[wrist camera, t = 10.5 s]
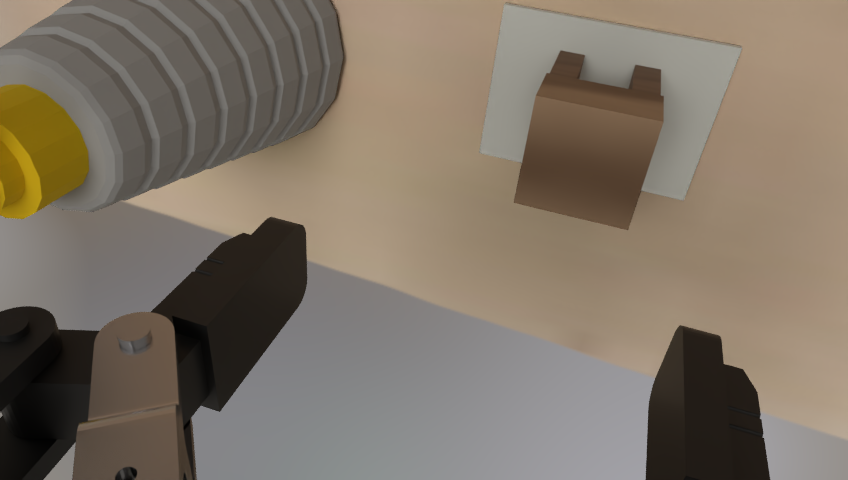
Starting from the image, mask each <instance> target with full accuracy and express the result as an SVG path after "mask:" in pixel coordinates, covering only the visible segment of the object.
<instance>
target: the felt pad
mask: <svg viewBox="0 0 848 480" xmlns="http://www.w3.org/2000/svg"><path fill="white" fill-rule="evenodd" d="M560 50H561V51H567V52H572V53H577V54H582V55H585V57H584V61H583V66H582V70H581V74H580V78H579V79H581V80H586V81H591V82H596V83H601V84H606V85H611V86H616V87H621V88H626V89H628V88H629V85H630V81H631V78H632V74H633V71H634V67H635V65H640V66H645V67H651V68H656V69H661V96H664V122H663V125H662V128H661V131H660V134H659V138H658V141H657V144H656V147H655V150H654V153H653V156H652V159H651V162H650V165H649V168H648V171H647V174H646V177H645V180H644V183H643V186H642V189H641V191H644V192H648V193H653V194H657V195H661V196H665V197H670V198H674V199H678V200H683V201H684V198H685V196H686V193H687V190H688V188H689V185H690V183H691V180H692V177H693V175H694V172H695V170H696V167H697V164H698V162H699V159H700V157H701V154H702V151H703V149H704V146H705V144H706V141H707V138H708V136H709V133H710V131H711V128H712V125H713V123H714V120H715V118H716V115H717V112H718V110H719V107H720V105H721V102H722V99H723V97H724V94H725V92H726V89H727V86H728V84H729V81H730V79H731V76H732V73H733V71H734V68H735V66H736V63H737V60H738V58H739V55H740V53H741V50H742V47H741V46H738V45H733V44H727V43H722V42H717V41H711V40H706V39H700V38H695V37H690V36H684V35H679V34H673V33H668V32H662V31H657V30H652V29H646V28H641V27H635V26H630V25H624V24H619V23H614V22H608V21H603V20H597V19H592V18H587V17H581V16H576V15H570V14H565V13H559V12H554V11H549V10H543V9H538V8H532V7H527V6H522V5H516V4H511V3H505V4H504V8H503V14H502V20H501V26H500V32H499V38H498V44H497V50H496V56H495V62H494V68H493V74H492V80H491V86H490V92H489V98H488V104H487V110H486V115H485V121H484V127H483V133H482V139H481V145H480V151H479V153H481V154H485V155H490V156H494V157H498V158H503V159H507V160H511V161H515V162H520V163H522V160H523V155H524V150H525V145H526V141H527V136H528V131H529V126H530V121H531V116H532V111H533V106H534V101H535V97H536V94H537V92H538V90H539V88H540V86H541V84H542V82H543V80H544V78H545V75H546V73H550V71H551V69H552V67H553V65H554V63H555V61H556V59H557V57H558V55H559V52H560Z"/></svg>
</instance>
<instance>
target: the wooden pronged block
mask: <svg viewBox="0 0 848 480" xmlns="http://www.w3.org/2000/svg"><path fill="white" fill-rule="evenodd" d="M584 57H585V55H582V54H577V53H572V52H567V51H561V50H560V52H559V55H558V57H557V59H556V61H555V63H554V65H553V67H552V69H551V71H550V73H546V75H545V78H544V80H543V82H542V84H541V86H540V88H539V90H538V92H537V94H536V97H535V101H534V106H533V111H532V116H531V121H530V126H529V131H528V136H527V141H526V145H525V150H524V155H523V160H522V165H521V170H520V175H519V180H518V184H517V189H516V194H515V199H514V203H518V204H522V205H526V206H530V207H534V208H538V209H542V210H547V211H551V212H555V213H559V214H563V215H567V216H572V217H576V218H580V219H584V220H588V221H592V222H596V223H601V224H605V225H609V226H613V227H617V228H621V229H626V230H628V228H629V225H630V222H631V219H632V216H633V213H634V210H635V207H636V204H637V201H638V198H639V195H640V192H641V189H642V186H643V183H644V180H645V177H646V174H647V171H648V168H649V165H650V162H651V159H652V156H653V153H654V150H655V147H656V144H657V141H658V138H659V134H660V131H661V128H662V125H663V122H664V96H661V69H656V68H651V67H645V66H640V65H635V67H634V71H633V74H632V78H631V81H630V85H629V88H628V89H626V88H621V87H616V86H611V85H606V84H601V83H596V82H591V81H586V80H581V79H579V78H580V74H581V70H582V66H583V61H584Z"/></svg>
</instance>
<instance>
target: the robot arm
mask: <svg viewBox="0 0 848 480" xmlns="http://www.w3.org/2000/svg"><path fill="white" fill-rule="evenodd" d="M306 285H307V255H306V231H305V228H304V226H303V225H300V224H296V223H292V222H289V221H285V220H281V219H277V218H273V217H270V218H268V219H267V220H265V221H264V222H263V223H262V224H261V225H260V226H259V227H258V228H257V229H256V231H255V232H254V233H253V234H252V235H249V234H246V233H242V234H240V235H238V236H236V237H233V238H231V239H229V240H227V241H225V242H223V243H222V244H220V245H219V246H218V247H217V248H216V249H215V250H214V251H213V252H212V253H211V254H210V255H209V256H208V257H207V260H204V261H203V262H202V263H201V264H200V265H199V266H198V267H197V268H196V270H195V272H192V273H191V274H189V275H188V277H186V279H184V280H183V281H182V282H181V283H180V284H179V285H178V286H177V287H176V288H175V289H174V290H173V291H172V292H171V293H170V294H169V295H168V296H167V297H166V298H165V299H164V300H163V301H162V302H161V303H160V304H159V305H158V306H156V307H155V308H154V309H153V310H152V311H151V312H137V313H131V314H127V315H124V316H121V317H119V318H116V319H114V320H113V321H111V322H109V323H108V324H107V325H105V326H104V327H103V328H102V329H101V330H100V331H85V330H58V327H57V324H56V321H55V318H54V316H53V315H52V314H51V313H50V312H49V311H47V310H45V309H42V308H39V307H30V306H29V307H27V306H26V307H16V308H12V309H8V310H4V311H1V312H0V412H1V413H2V415H3V416H2V417H1V418H0V480H43V479H44V478H45V477H46V476H47V475H48V474H49V472H50V471H51V470H52V469H53V468H54V467H55V465H56V464H57V463H58V462H59V461H60V460H61V458H62V457H63V456H64V455H65V454H66V453H67V451H68V450H69V449H70V448H71V447H72V445H73V444H74V443H75V442H76V446H75V457H74V467H73V478H72V480H197V477H196V463H195V450H194V438H193V425H192V419H191V417H192V416H193V415H194V413H195V412H196V411H197V409H198V408H199V407H200V406H204V407H207V408H210V409H213V410H216V411H219V412H220V411H221V409H222V408H223V407H224V405H225V404H226V403H227V401H228V400H229V399H230V397H231V396H232V395H233V393H234V392H235V391H236V389H237V388H238V387H239V385H240V384H241V383H242V381H243V380H244V379H245V377H246V376H247V375H248V373H249V372H250V371H251V369H252V368H253V367H254V365H255V364H256V363H257V361H258V360H259V359H260V357H261V356H262V355H263V353H264V352H265V351H266V349H267V348H268V347H269V345H270V344H271V343H272V341H273V340H274V339H275V337H276V336H277V335H278V333H279V332H280V330H281V329H282V328H283V327H284V325H285V324H286V322H287V321H288V320H289V319H290V317H291V316H292V315H293V313H294V312H295V310H296V309H297V308H298V306H299V304H300V303H301V301H302V299H303V296H304V293H305V290H306ZM760 415H761V414H760V407H759V401H758V394H757V391H756V389H755V388H754V386H753V385H752V383H751V381H750V380H749V378H748V377H747V375H746V373H745V372H744V370H743V369H740V368H737V367H733V366H729V365H725V364H724V363H723V352H722V342H721V337H720V336H719V335H715V334H711V333H707V332H704V331H700V330H696V329H692V328H688V327H685V326H679V327H678V328H677V330H676V332H675V334H674V336H673V338H672V341H671V343H670V345H669V348H668V350H667V352H666V355H665V357H664V359H663V362H662V364H661V366H660V369H659V371H658V374H657V376H656V378H655V381H654V384H653V388H652V391H651V396H650V401H649V410H648V435H647V461H646V480H770V477H769V469H768V462H767V455H766V449H765V442H764V438H762V436H763V428H762V421H761V419H760Z"/></svg>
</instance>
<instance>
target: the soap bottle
mask: <svg viewBox="0 0 848 480" xmlns="http://www.w3.org/2000/svg"><path fill="white" fill-rule="evenodd" d="M342 61H343V50H342V44H341V38H340V33H339V27H338V21H337V15H336V11H335V9H334V7H333V5H332V4H331V2H330V0H72V1H71V2H69V3H67V4H66V5H64V6H62V7H61V8H59V9H58V10H57V11H56V12H54V13H53V14H52V15H50V16H49V17H47V18H45V19H44V20H42V21H40V22H38V23H37V24H35V25H33V26H32V27H30V28H29V29H27V30H26V31H25V32H23V33H22V34H21V35H20V36H18V37H17V38H15V39H14V40H12V41H10V42H9V43H7V44H6V45H4V46H2V47H1V48H0V215H1V216H3V217H5V218H17V219H24V218H26V217H28V216H30V215H32V214H33V213H35V212H37V211H38V210H40V209H42V208H44V207H45V206H47V205H49V204H51V205H53V206H55V207H57V208H60V209H62V210H71V211H86V212H94V211H97V210H99V209H102V208H104V207H107V206H109V205H112V204H114V203H116V202H118V201H120V200H128V199H130V198H133V197H135V196H137V195H140V194H142V193H145V192H147V191H149V190H151V189H158V188H160V187H162V186H165V185H167V184H170V183H172V182H174V181H176V180H179V179H181V178H187V177H189V176H192V175H194V174H197V173H199V172H201V171H203V170H205V169H211V168H214V167H216V166H218V165H221V164H223V163H225V162H228V161H230V160H235V159H238V158H240V157H242V156H245V155H247V154H249V153H254V152H257V151H259V150H261V149H264V148H266V147H268V146H273V145H276V144H278V143H280V142H283V141H285V140H287V139H289V138H291V137H293V136H296V135H298V134H300V133H302V132H304V131H306V130H308V129H311V128H313V127H314V126H315V125H316V123H317V122H318V121H319V119H320V118H321V117H322V115H323V114H324V113H325V111H326V110H327V109H328V107H329V106H330V105H331V103H332V102H333V101H334V99H335V95H336V90H337V86H338V81H339V76H340V71H341V66H342Z"/></svg>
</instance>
